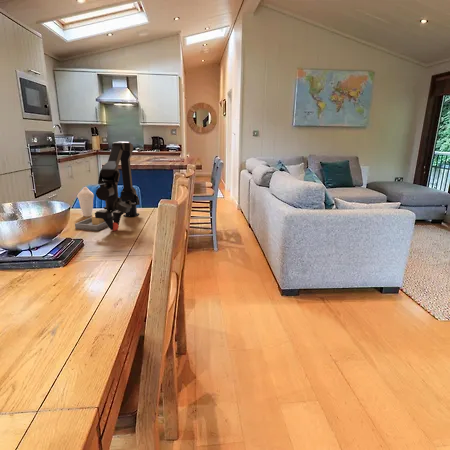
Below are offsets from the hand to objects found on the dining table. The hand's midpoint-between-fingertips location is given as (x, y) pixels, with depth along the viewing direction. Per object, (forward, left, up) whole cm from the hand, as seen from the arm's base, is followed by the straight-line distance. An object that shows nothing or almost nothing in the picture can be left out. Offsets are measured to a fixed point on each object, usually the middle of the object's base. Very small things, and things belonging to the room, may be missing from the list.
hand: (114, 228), depth 145 cm
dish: (-3, -13, -1) cm, 13 cm away
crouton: (-6, -13, 0) cm, 14 cm away
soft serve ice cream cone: (-19, -29, -1) cm, 35 cm away
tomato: (0, 0, -1) cm, 1 cm away
